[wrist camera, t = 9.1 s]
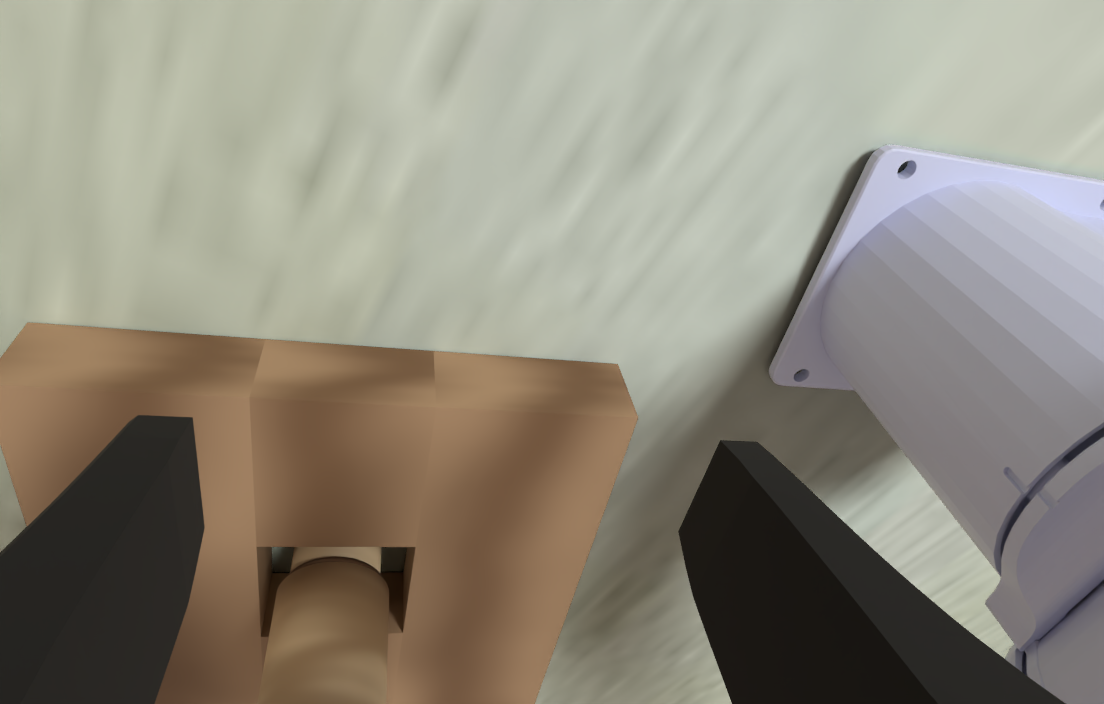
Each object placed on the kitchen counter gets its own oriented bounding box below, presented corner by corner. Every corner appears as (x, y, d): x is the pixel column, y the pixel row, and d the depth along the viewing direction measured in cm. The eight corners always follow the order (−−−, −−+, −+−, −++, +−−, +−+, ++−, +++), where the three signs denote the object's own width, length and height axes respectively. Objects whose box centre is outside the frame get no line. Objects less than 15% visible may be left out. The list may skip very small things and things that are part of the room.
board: (617, 364, 22) (637, 417, 20) (524, 653, 31) (532, 709, 29) (27, 322, 18) (-19, 384, 16) (116, 667, 27) (93, 734, 25)
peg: (390, 490, 24) (383, 731, 17) (391, 555, 26) (385, 793, 19) (284, 494, 23) (236, 746, 17) (293, 560, 25) (253, 808, 19)
